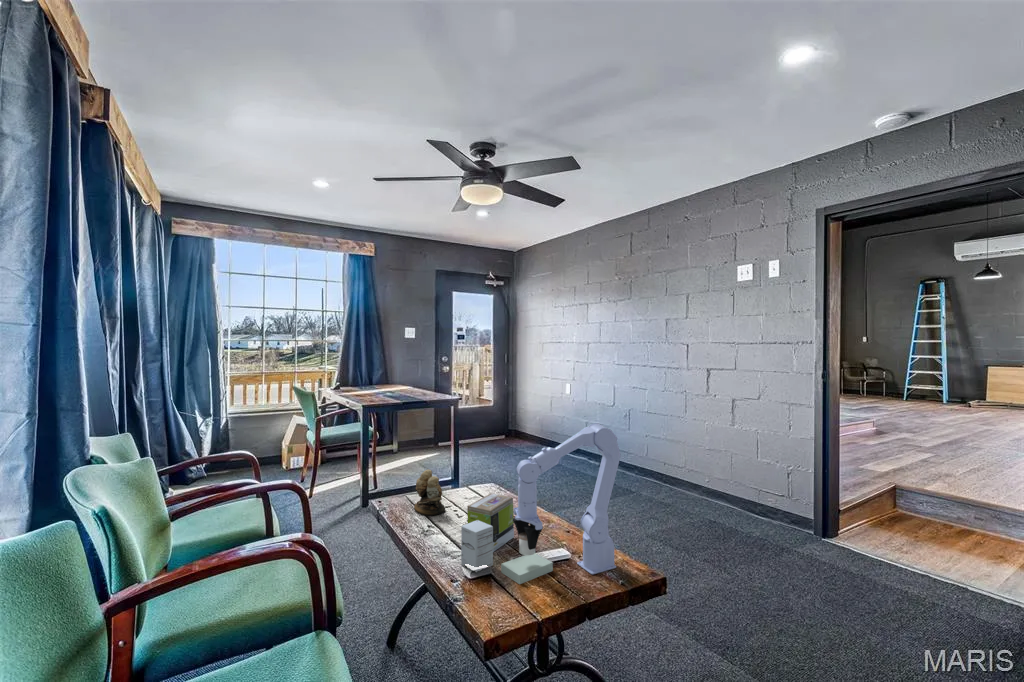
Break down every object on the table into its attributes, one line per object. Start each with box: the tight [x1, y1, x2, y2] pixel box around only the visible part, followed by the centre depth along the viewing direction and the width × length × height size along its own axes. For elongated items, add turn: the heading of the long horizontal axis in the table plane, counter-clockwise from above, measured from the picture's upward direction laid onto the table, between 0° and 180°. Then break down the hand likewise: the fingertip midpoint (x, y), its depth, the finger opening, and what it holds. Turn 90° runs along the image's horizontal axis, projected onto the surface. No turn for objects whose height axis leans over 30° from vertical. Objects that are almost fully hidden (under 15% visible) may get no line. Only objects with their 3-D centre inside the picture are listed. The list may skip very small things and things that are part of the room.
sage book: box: [500, 552, 554, 585], centre depth 145 cm, size 13×9×3 cm
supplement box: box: [460, 520, 494, 567], centre depth 149 cm, size 7×7×13 cm
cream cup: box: [518, 532, 536, 556], centre depth 145 cm, size 5×5×5 cm
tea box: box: [466, 493, 515, 553], centre depth 165 cm, size 15×10×15 cm, turn 149°
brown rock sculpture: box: [413, 469, 446, 517], centre depth 198 cm, size 18×12×17 cm, turn 34°
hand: (527, 545), depth 145 cm, fingers closed on cream cup, 5 cm apart
